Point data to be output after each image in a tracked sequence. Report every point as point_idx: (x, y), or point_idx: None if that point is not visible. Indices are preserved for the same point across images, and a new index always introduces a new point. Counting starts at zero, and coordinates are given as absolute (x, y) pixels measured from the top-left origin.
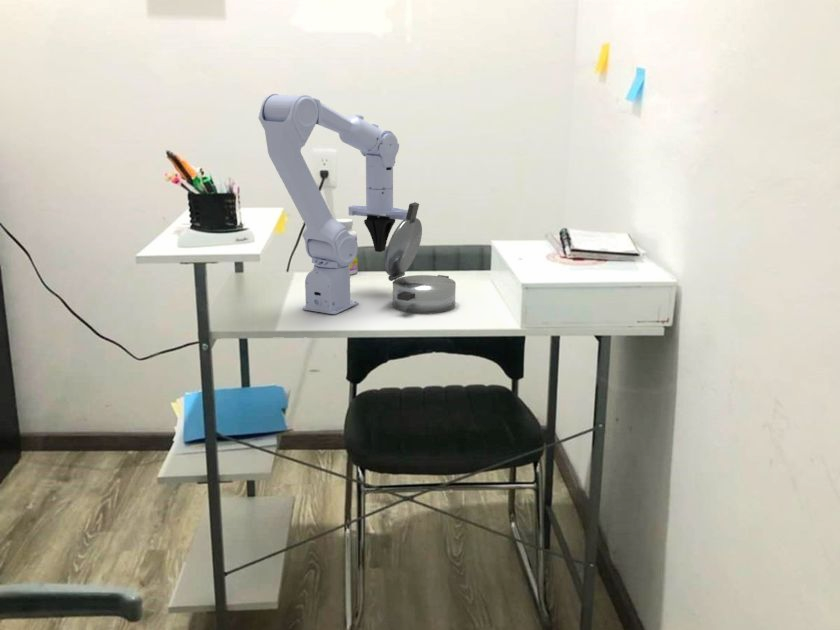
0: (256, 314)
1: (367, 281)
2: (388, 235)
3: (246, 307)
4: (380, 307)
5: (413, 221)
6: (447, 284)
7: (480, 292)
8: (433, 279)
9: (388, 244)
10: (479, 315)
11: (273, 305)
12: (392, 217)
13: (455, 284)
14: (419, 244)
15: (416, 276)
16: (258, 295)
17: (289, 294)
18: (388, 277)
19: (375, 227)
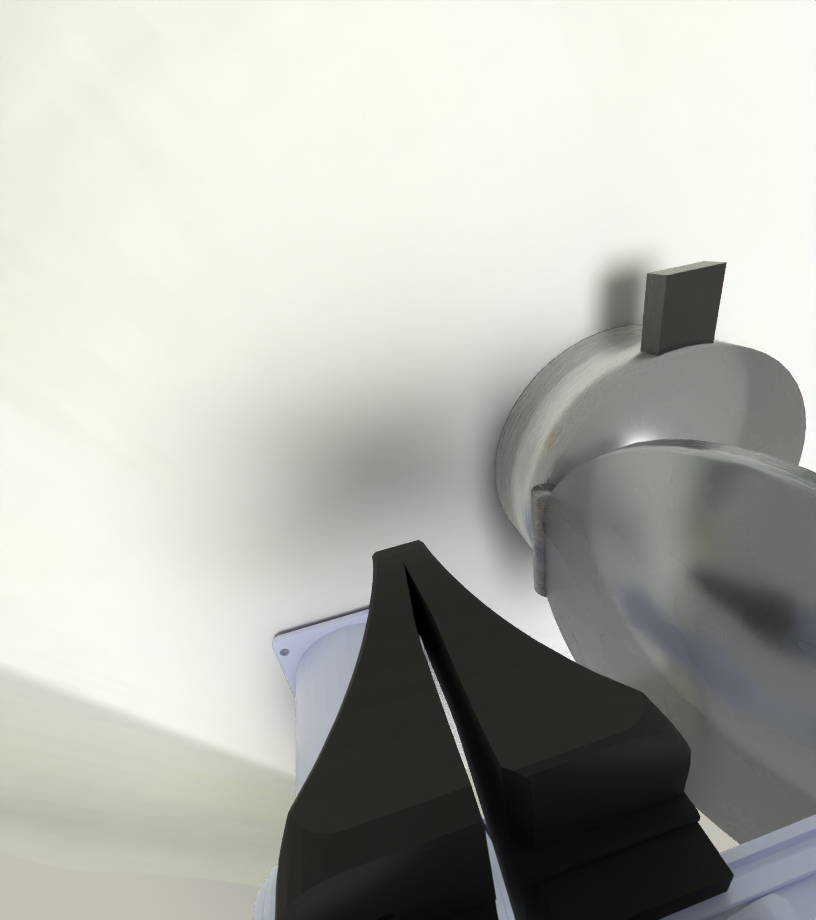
0: (252, 817)
1: (102, 303)
2: (488, 608)
3: (160, 820)
4: (492, 567)
5: None
6: (775, 449)
7: (771, 75)
8: (695, 423)
9: (717, 825)
10: (809, 416)
11: (199, 768)
12: (757, 891)
13: (801, 412)
14: (745, 454)
15: (600, 436)
16: (24, 767)
17: (91, 693)
18: (536, 591)
19: (494, 847)
